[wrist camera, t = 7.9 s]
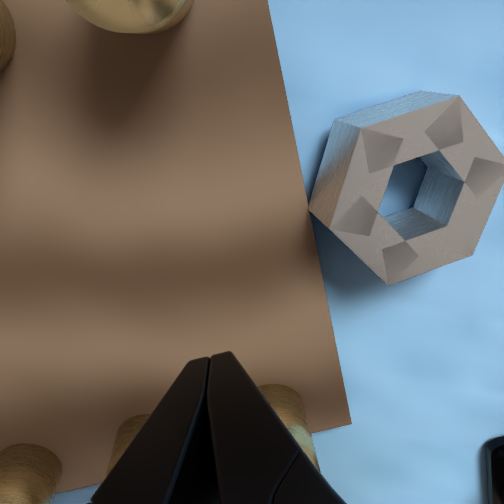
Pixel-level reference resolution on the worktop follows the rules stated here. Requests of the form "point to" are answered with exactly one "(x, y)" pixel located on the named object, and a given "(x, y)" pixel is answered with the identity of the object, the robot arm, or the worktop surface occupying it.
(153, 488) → the robot arm
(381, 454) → the worktop surface
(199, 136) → the board
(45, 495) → the brass spacers
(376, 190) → the steel nut
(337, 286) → the worktop surface
